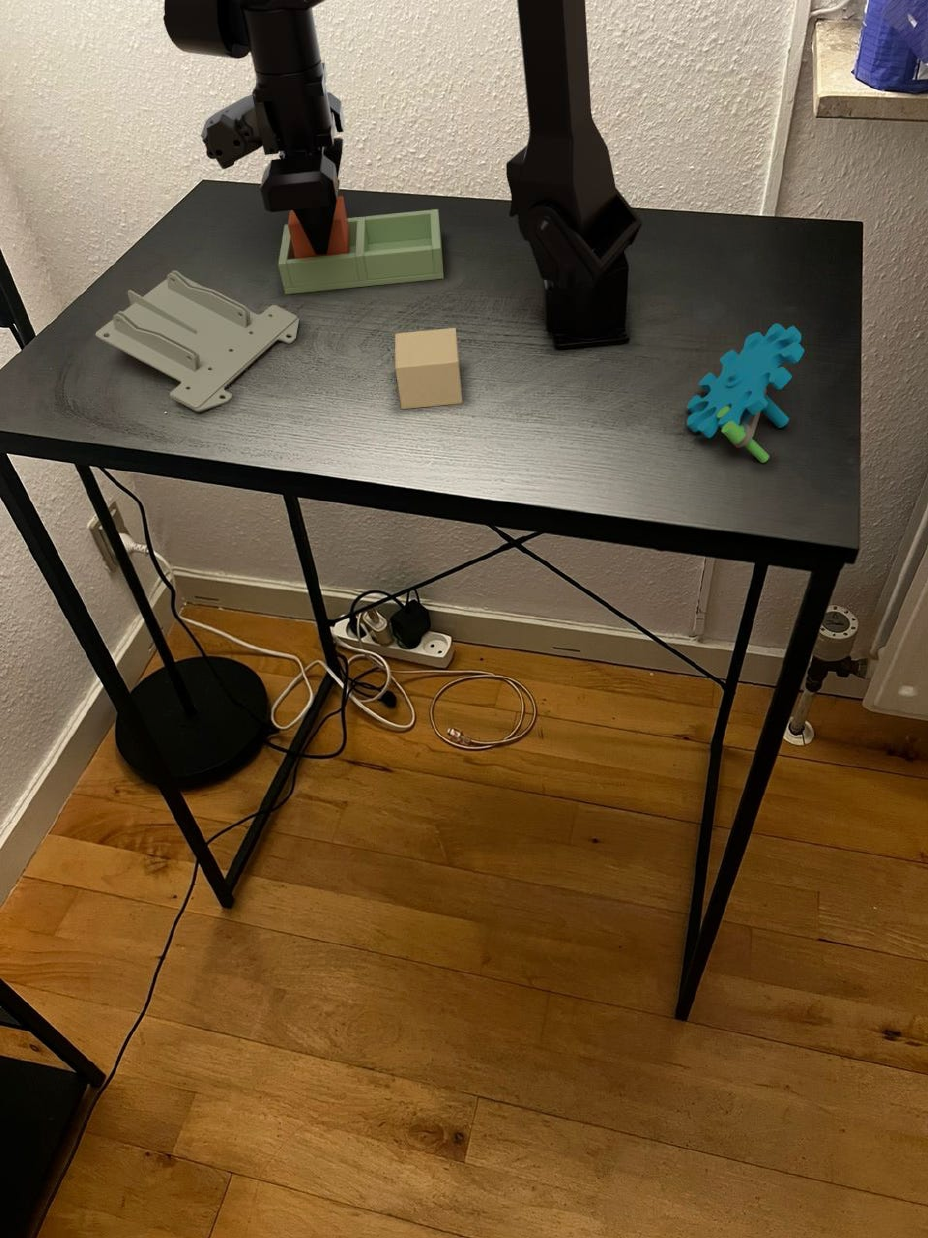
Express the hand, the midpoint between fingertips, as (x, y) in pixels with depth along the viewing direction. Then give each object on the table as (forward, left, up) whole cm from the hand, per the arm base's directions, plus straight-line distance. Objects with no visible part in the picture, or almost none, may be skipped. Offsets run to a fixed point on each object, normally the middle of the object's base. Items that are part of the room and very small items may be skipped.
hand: (323, 240), depth 91 cm
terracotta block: (0, 0, -1) cm, 1 cm away
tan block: (-10, +22, -3) cm, 24 cm away
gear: (-33, +31, -3) cm, 45 cm away
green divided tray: (-4, 0, -3) cm, 5 cm away
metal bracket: (+11, +13, -3) cm, 18 cm away
